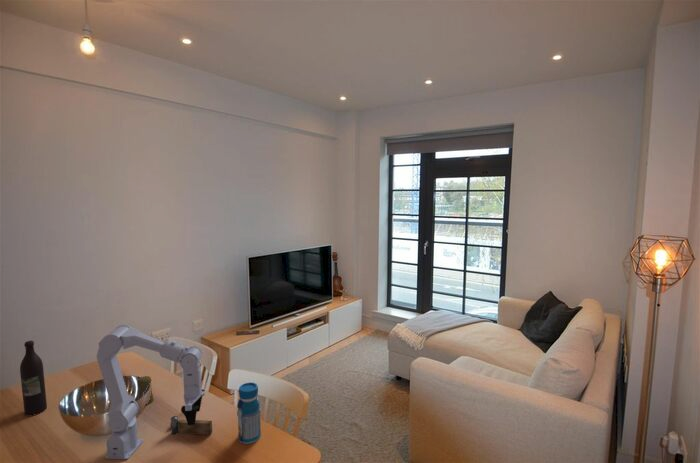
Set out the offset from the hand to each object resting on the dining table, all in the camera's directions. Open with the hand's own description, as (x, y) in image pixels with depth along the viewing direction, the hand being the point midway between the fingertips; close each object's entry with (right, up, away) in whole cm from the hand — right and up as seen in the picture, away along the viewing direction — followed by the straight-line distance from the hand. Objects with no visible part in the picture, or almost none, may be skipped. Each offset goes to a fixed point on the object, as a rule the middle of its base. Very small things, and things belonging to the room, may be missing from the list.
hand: (194, 417), depth 132 cm
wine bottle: (-74, -7, +19) cm, 76 cm away
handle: (-2, -9, +6) cm, 11 cm away
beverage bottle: (+19, -10, +5) cm, 22 cm away
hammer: (-11, -8, +17) cm, 21 cm away
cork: (-32, -7, +26) cm, 42 cm away
